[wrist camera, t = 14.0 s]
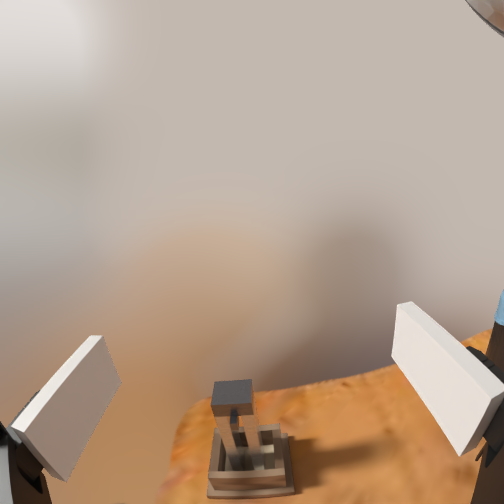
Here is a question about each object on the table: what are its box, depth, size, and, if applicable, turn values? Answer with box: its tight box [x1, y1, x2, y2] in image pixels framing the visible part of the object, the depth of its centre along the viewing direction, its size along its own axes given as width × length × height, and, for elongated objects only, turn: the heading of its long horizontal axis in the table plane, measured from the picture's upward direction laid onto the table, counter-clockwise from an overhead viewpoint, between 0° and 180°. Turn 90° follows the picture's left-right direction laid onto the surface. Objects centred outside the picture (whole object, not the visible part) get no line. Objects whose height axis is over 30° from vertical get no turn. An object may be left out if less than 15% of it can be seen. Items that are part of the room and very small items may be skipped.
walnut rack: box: [206, 423, 295, 499], centre depth 32 cm, size 12×12×5 cm
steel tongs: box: [211, 379, 265, 471], centre depth 30 cm, size 4×6×16 cm
